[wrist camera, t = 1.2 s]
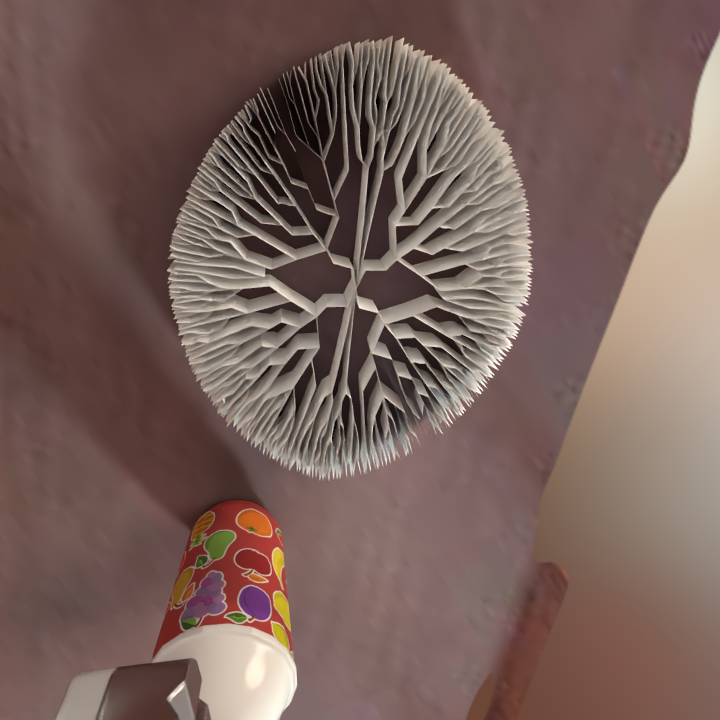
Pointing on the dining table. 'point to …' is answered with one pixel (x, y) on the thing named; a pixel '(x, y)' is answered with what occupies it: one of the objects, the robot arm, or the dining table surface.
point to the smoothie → (233, 614)
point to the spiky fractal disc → (354, 262)
